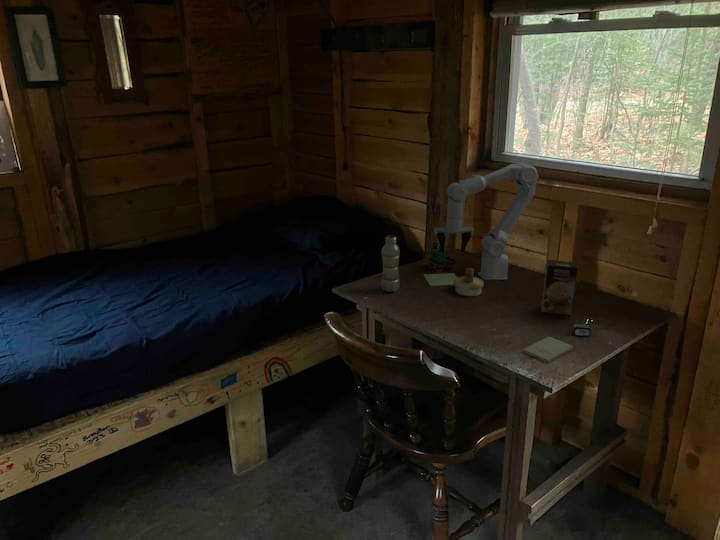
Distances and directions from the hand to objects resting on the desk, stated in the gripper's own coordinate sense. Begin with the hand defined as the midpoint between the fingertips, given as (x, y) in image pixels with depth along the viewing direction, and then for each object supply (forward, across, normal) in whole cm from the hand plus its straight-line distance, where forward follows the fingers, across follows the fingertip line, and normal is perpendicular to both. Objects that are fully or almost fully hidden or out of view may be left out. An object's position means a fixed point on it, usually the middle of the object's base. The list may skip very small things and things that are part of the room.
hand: (452, 252), depth 208 cm
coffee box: (+10, -26, +33) cm, 43 cm away
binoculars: (+11, +1, -11) cm, 15 cm away
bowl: (+10, -2, +15) cm, 18 cm away
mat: (+10, +4, +2) cm, 11 cm away
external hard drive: (+11, -12, +60) cm, 62 cm away
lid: (+7, -2, +15) cm, 17 cm away
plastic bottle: (+11, +25, +10) cm, 29 cm away
